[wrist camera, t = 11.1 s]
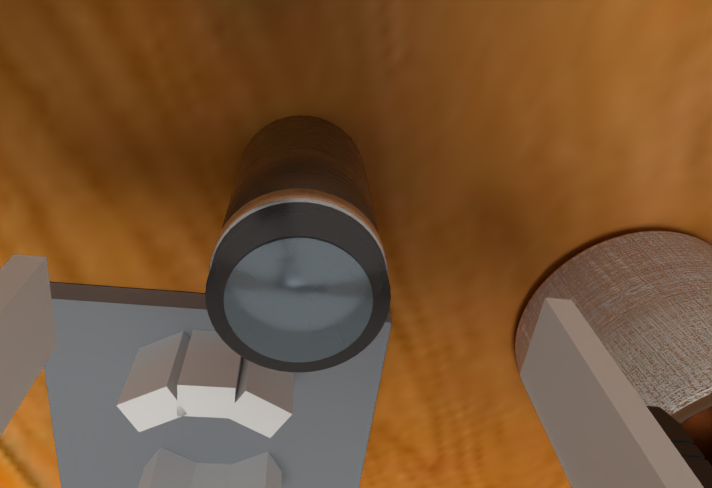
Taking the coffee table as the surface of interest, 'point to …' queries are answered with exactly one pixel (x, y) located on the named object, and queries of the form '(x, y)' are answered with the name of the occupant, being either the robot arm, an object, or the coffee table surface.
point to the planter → (645, 318)
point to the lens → (299, 252)
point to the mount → (195, 400)
